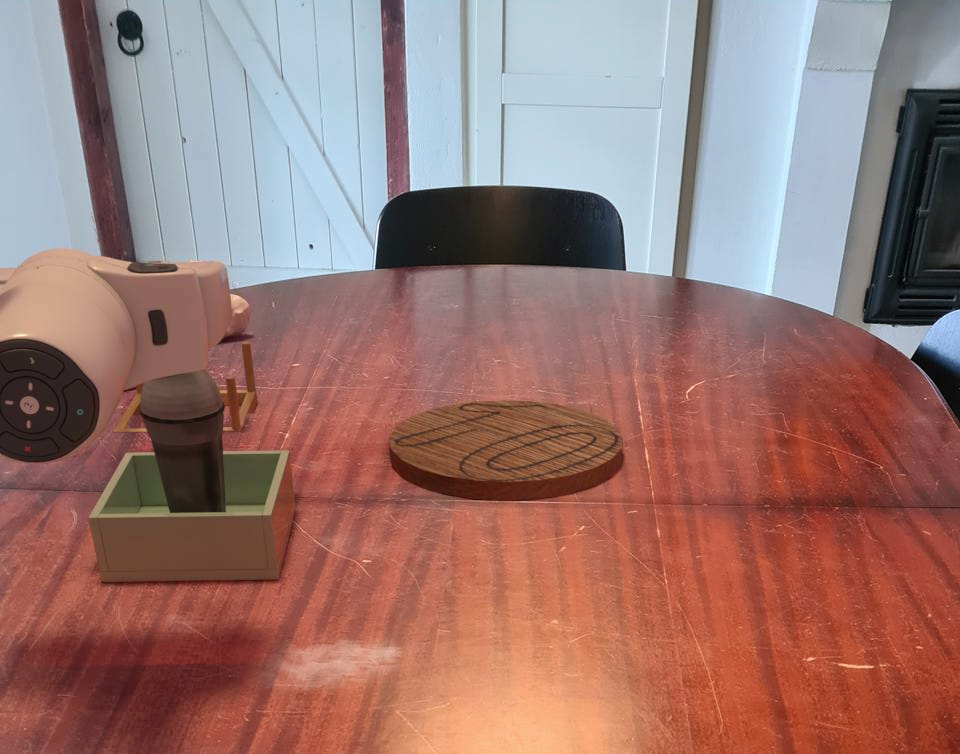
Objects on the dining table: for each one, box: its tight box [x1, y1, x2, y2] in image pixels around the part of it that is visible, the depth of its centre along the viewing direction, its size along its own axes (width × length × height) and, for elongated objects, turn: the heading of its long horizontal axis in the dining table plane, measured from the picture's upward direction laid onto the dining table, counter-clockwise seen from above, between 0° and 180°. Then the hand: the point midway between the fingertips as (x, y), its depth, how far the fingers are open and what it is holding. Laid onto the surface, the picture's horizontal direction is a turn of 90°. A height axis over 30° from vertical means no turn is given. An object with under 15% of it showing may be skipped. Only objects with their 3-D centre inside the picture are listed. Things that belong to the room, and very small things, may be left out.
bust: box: [189, 259, 251, 340], centre depth 165 cm, size 12×8×11 cm
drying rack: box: [112, 341, 258, 434], centre depth 140 cm, size 14×14×7 cm
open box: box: [88, 449, 297, 583], centre depth 113 cm, size 16×16×6 cm
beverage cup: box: [139, 368, 226, 513], centre depth 108 cm, size 7×7×20 cm
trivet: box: [388, 399, 624, 501], centre depth 132 cm, size 25×25×2 cm
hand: (96, 274), depth 92 cm, fingers open, 8 cm apart
